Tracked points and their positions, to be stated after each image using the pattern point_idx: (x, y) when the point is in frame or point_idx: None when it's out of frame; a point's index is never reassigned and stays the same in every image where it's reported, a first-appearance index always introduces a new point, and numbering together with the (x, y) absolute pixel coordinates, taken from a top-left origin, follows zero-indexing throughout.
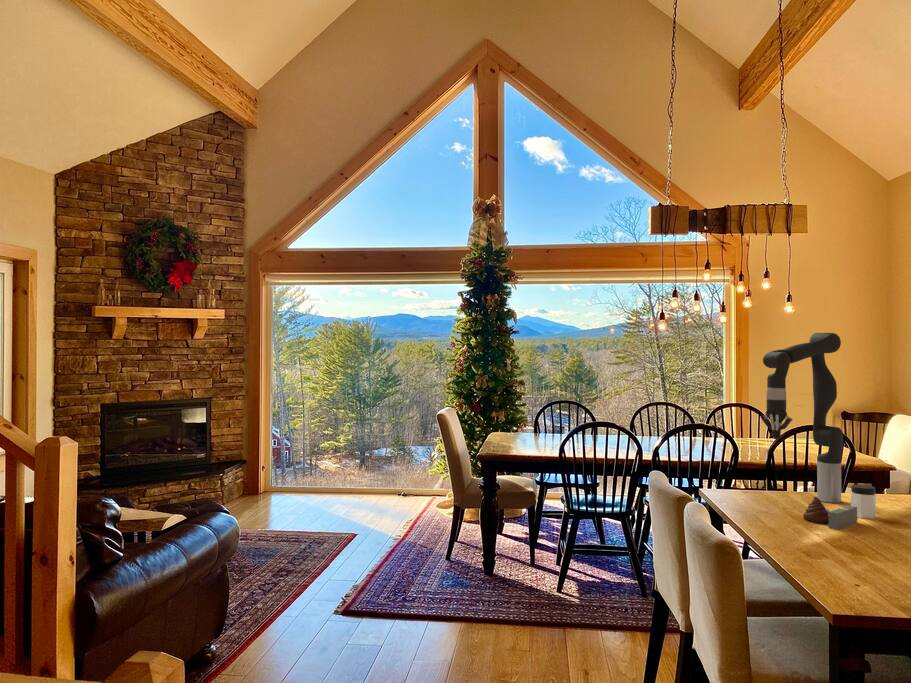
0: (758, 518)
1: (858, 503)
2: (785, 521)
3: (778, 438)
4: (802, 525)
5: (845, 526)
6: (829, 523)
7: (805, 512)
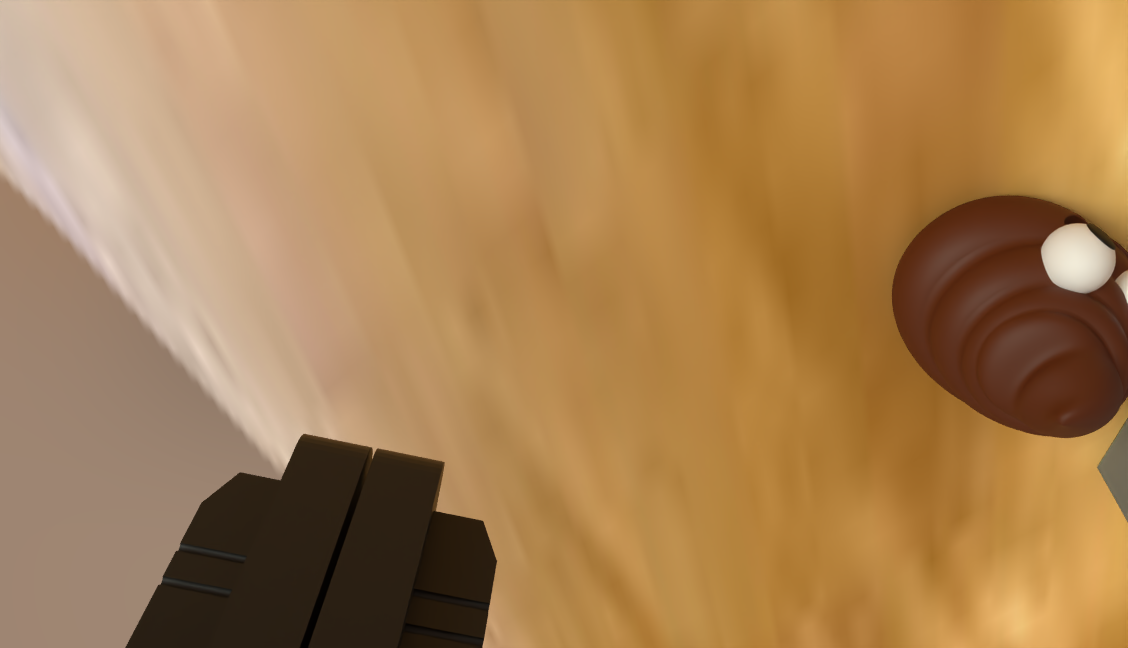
0: (557, 504)
1: None
2: (759, 470)
3: (433, 516)
4: (895, 507)
5: None
6: (1118, 493)
7: (923, 328)
